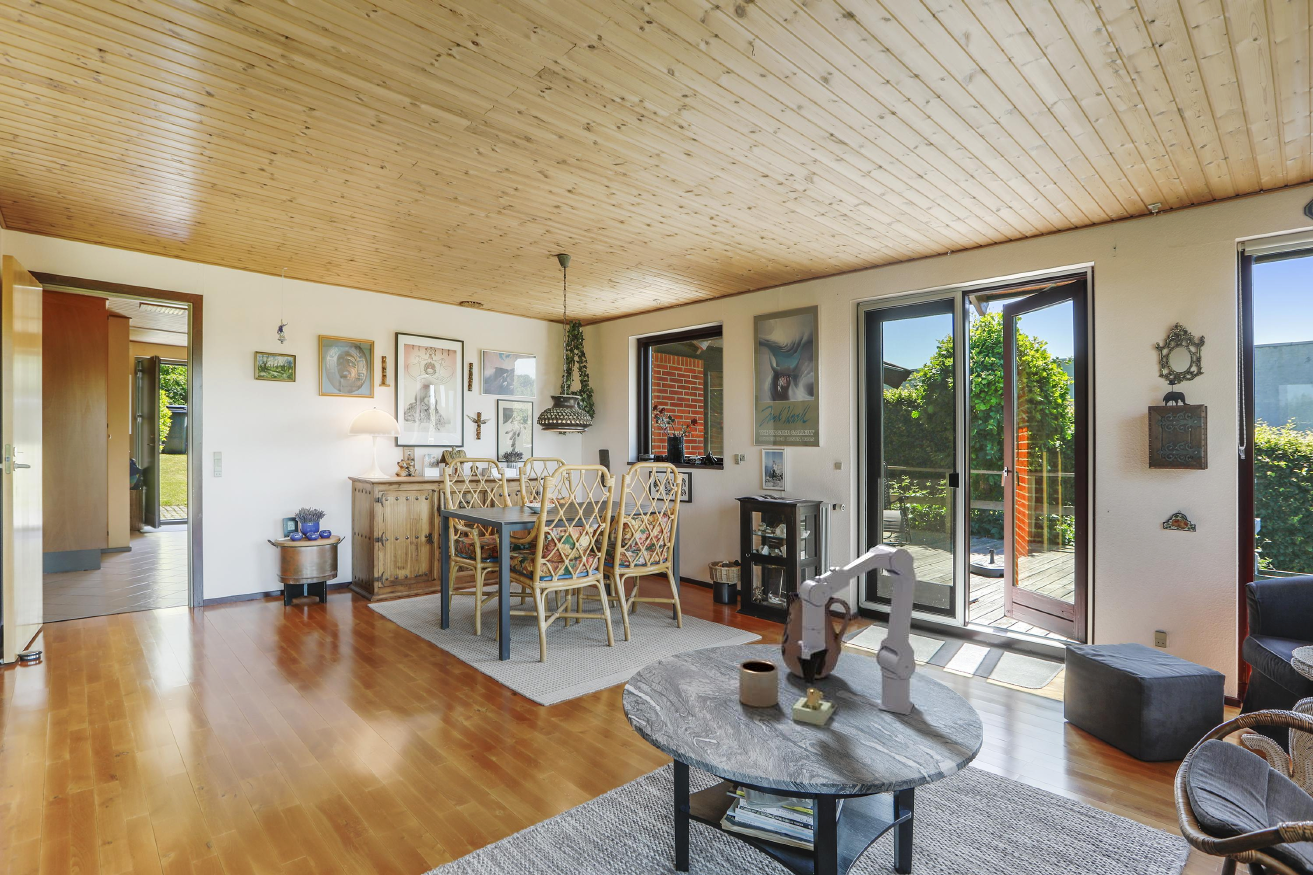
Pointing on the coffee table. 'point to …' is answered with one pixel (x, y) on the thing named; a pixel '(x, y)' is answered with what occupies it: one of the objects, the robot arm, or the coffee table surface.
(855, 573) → the robot arm
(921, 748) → the coffee table surface
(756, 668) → the planter
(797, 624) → the ceramic pitcher
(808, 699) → the brass pin
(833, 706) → the slot jig
